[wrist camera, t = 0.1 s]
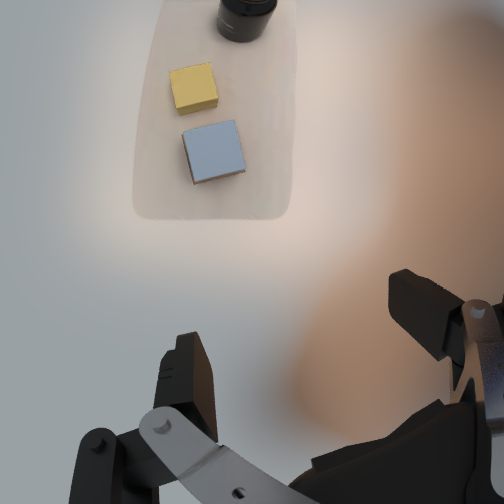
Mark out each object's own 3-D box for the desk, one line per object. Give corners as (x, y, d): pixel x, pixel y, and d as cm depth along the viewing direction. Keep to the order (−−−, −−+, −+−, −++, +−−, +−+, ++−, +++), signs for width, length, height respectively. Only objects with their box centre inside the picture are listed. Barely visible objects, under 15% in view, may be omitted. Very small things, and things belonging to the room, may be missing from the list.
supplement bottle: (210, 36, 30) (212, -7, 18) (226, 4, 28) (234, -42, 17) (256, 49, 31) (275, 9, 20) (270, 16, 30) (292, -26, 18)
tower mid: (186, 137, 29) (182, 132, 24) (230, 126, 29) (234, 119, 24) (197, 179, 30) (195, 181, 26) (240, 168, 31) (246, 168, 26)
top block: (173, 83, 31) (168, 72, 27) (209, 74, 32) (209, 62, 27) (180, 115, 33) (176, 108, 28) (216, 106, 33) (218, 98, 29)
